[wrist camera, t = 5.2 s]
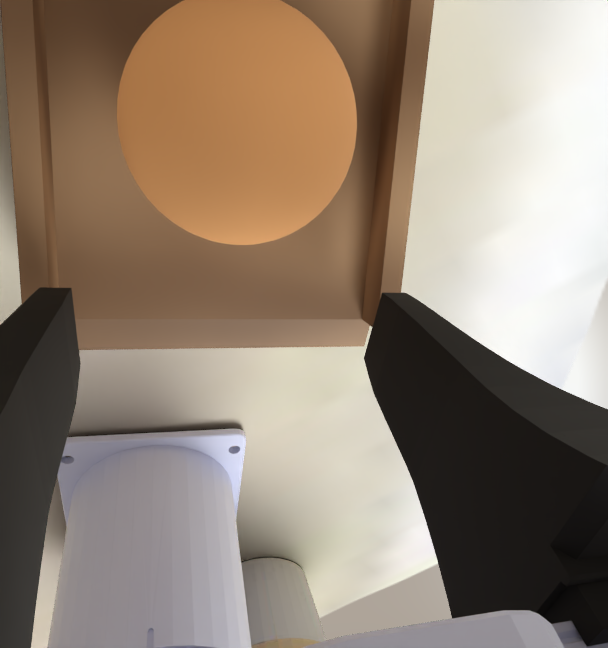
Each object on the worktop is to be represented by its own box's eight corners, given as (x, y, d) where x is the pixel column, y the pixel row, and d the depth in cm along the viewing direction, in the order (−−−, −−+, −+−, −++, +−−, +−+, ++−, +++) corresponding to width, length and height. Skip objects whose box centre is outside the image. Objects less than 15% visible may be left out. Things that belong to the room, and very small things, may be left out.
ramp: (328, 271, 21) (380, 381, 16) (69, 265, 19) (35, 391, 14) (424, -206, 13) (585, -288, 8) (2, -323, 11) (-140, -544, 6)
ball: (366, 284, 11) (419, 8, 9) (112, 279, 10) (96, -46, 7) (310, 211, 15) (336, 12, 13) (127, 201, 14) (120, -22, 12)
